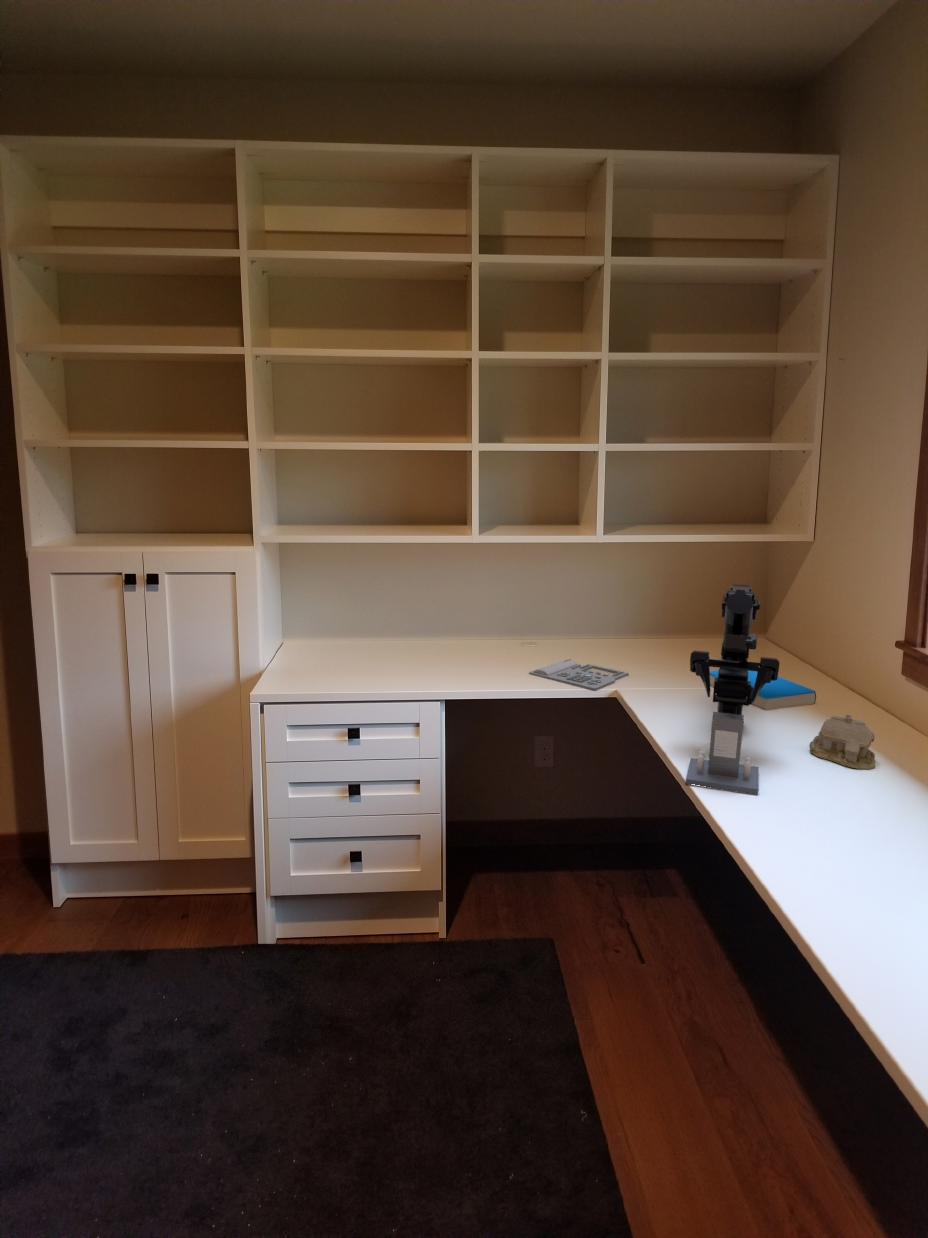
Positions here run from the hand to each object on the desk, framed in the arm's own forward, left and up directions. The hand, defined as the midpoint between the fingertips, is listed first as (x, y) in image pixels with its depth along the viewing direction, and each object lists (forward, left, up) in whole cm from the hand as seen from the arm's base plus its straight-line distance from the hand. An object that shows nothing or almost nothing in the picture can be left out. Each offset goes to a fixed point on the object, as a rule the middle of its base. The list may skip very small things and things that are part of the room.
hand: (730, 699), depth 182 cm
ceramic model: (-12, +24, -14) cm, 30 cm away
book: (-52, +2, -14) cm, 54 cm away
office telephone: (-46, -47, -14) cm, 68 cm away
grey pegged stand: (+12, +1, -14) cm, 18 cm away
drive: (+12, +1, -12) cm, 17 cm away
